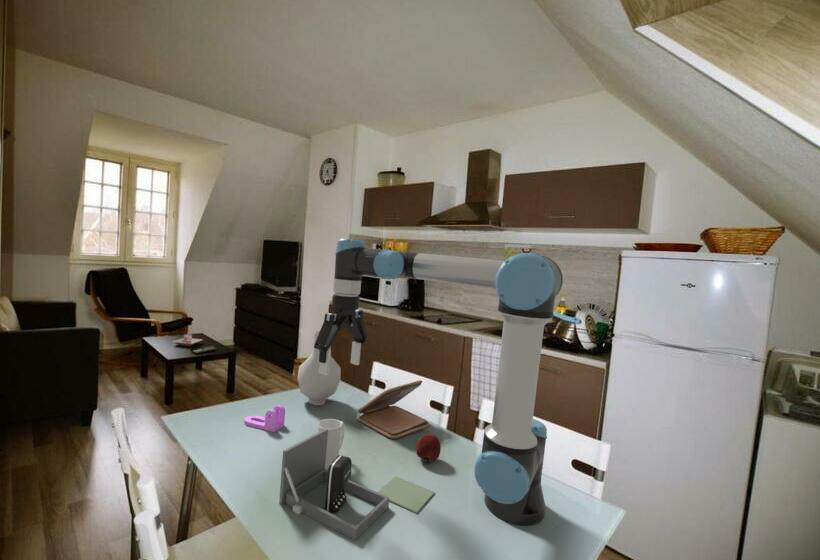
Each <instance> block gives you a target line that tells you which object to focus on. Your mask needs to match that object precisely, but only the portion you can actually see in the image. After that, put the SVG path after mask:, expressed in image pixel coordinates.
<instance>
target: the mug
mask: <svg viewBox="0 0 820 560" xmlns="http://www.w3.org/2000/svg"><path fill="white" fill-rule="evenodd" d="M324 429H328V437H327V449H326V461H325V469H326V470H328V469H329V466H330V464H331V463H332V462H333V460H334V459H335V458H336V457H337V456H338V455H340V450H341V448H342V445H343V442H344V438H345V432H346V430H345V424H344V421H341V420H340V419H335V418H326V419H325V418H323V419H322V420H320V421H318V423H317V431H316V434H317V433H318V432H320V431H322V430H324Z"/></svg>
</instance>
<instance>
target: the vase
mask: <svg viewBox="0 0 820 560" xmlns="http://www.w3.org/2000/svg"><path fill="white" fill-rule="evenodd" d="M319 332H320V330H317V331H314V333H313V343H312V349H311V353H310V355H309V357H308V358H306V360H304V361H303V362H302V363H301V364H300V365H299V366H298V372H297V382H298V387H299V391H300V394H302V395H304V396H305V397H306V398H307V399H308V403H309V404H310V405H314V406H321V405H324V404H326V401H327V399H328V398H330V397H332V396H333V395H334V394H336V393H337V390H338V387H339V385H340V382H341V375H342V373H341V369H342V368H341V367H340V365H339V364H338V363H337V362H336V360H335V359H334V358H333V357H332V349H331V348H332V345H331V346H330V348H329V349H328V351H330V362H329V374H328V375H323V374H320V373H319V366H320V362H319V354H320V350H319V349H316V348H314V345H315V342H316V340H317V337H318V335H319ZM319 345H320V344H319ZM325 346H326V345H325Z"/></svg>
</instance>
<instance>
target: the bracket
mask: <svg viewBox="0 0 820 560" xmlns="http://www.w3.org/2000/svg"><path fill="white" fill-rule="evenodd" d="M285 419H286V408H285V407H284V406H283V405H282V404H278V405H276V406H274V407H273V408H270V409H269V410H267V411H266V413H265V416H260V415H249V416H246V417H245V418H244V425H245V426H248V427H252V428H257V429H260V430H264V431H267V432H271V433H275V432H277V431H278V430H279V429H281V428H283V427H284V426H285Z"/></svg>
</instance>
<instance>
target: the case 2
mask: <svg viewBox="0 0 820 560" xmlns="http://www.w3.org/2000/svg"><path fill="white" fill-rule="evenodd" d="M422 383H423V380H421V379H420V380H417V381H412V382H409V383H405V384H402V385H398V386H395V387H391V388H388V389H386V390H384V391H382V392H381V393H380V394H378V395H376V396H375V397H374V398H372V399H370V401H368V402H367V403H365V404H364V405H363V406H361V407H360V408H358V410H356V413H357V414H361V415H359V416H358V417H357V421H358V422H360V423H362V424H363V425H366V426H367V427H369V428H370V429H372V430H375V431H376V432H378V433H380V434H381V435H383V436H384V437H387V438H389V439H392V440H396V439H400V438H402V437H406V436H408V435H410V434H413V433H416V432H419V431H421V430H424V429H426V428H429V427H430V423H429V421H428V420H426V419H424V418H421V417H420V416H417V414H414V413H412V412H411V411H408V410H406V409H404V408H402V407H400V406H397V405H395V404H396V403H398V402H400V400H402V399H404V398H405V397H407V396H408V395H409V394H410V393H412V392H414V390H416V389H418V388H419V387H420V386H421V385H422Z"/></svg>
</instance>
